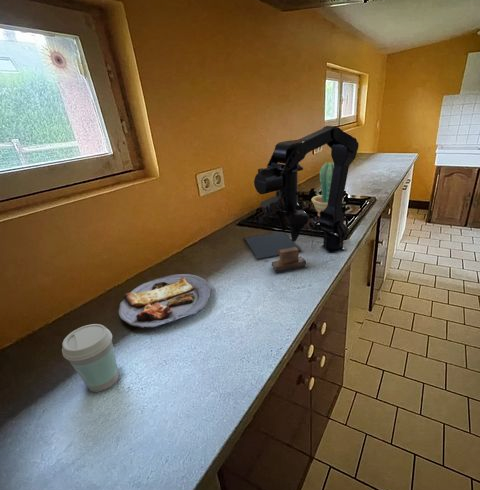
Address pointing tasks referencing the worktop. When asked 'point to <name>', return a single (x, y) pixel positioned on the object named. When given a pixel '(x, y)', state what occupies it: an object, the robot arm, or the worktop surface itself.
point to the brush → (288, 260)
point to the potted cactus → (324, 187)
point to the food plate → (164, 300)
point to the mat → (269, 244)
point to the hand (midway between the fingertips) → (288, 235)
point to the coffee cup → (92, 356)
